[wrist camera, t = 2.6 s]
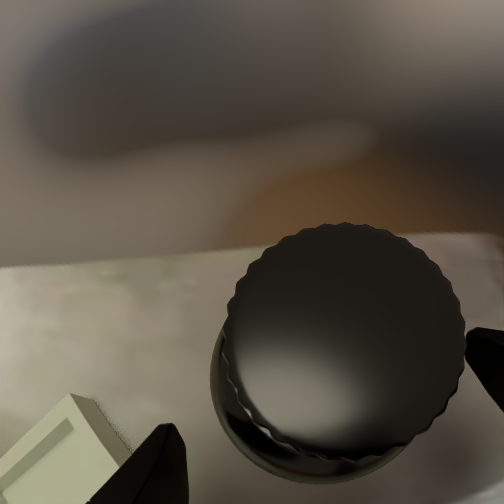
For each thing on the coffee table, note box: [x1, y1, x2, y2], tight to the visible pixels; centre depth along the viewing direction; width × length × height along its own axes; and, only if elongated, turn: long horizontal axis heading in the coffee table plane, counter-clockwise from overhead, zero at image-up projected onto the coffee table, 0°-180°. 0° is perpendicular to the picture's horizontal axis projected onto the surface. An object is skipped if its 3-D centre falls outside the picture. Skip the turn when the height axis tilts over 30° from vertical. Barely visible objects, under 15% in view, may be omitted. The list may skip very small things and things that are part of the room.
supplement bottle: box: [210, 222, 467, 484], centre depth 10 cm, size 7×7×12 cm
